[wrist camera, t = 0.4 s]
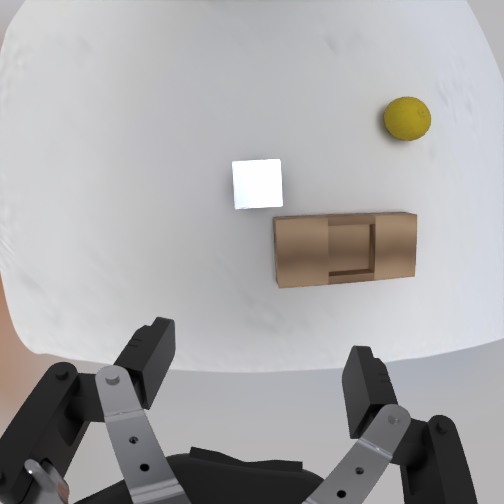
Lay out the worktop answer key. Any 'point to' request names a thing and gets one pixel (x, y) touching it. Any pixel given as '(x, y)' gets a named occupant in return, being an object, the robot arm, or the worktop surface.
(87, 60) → the worktop surface
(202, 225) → the worktop surface
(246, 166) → the block
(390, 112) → the lemon
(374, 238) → the wooden slotted base
